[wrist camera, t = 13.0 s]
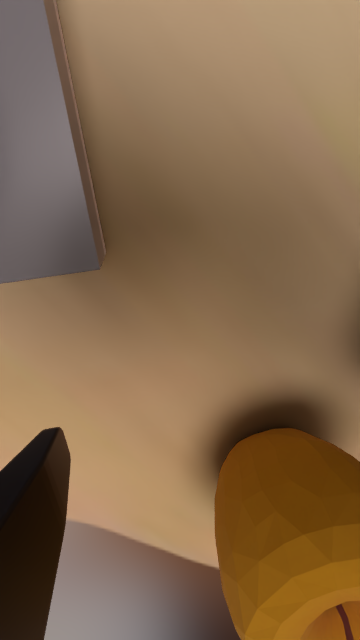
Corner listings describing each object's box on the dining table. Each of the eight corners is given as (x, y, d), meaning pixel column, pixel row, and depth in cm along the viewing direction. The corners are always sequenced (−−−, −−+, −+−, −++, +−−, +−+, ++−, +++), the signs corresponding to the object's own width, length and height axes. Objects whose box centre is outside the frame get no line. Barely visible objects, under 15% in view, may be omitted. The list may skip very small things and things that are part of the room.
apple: (294, 365, 24) (449, 543, 12) (352, 456, 28) (509, 655, 16) (167, 446, 26) (196, 678, 14) (239, 522, 30) (310, 750, 18)
